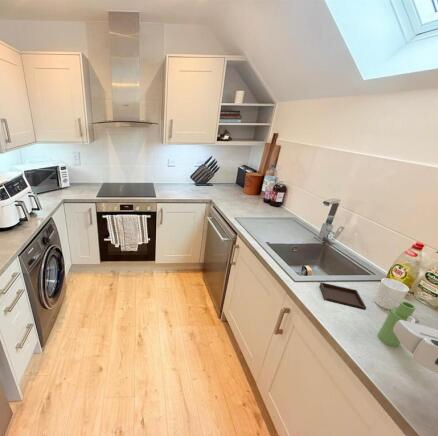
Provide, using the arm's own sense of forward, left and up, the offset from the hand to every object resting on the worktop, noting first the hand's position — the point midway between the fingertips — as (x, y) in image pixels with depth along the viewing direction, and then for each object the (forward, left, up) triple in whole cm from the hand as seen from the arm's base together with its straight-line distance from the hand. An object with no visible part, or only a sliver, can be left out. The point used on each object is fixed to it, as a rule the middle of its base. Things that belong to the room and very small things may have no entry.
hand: (435, 325), depth 62 cm
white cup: (-8, -35, -20) cm, 41 cm away
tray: (+8, -32, -20) cm, 38 cm away
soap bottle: (0, -12, -20) cm, 23 cm away
